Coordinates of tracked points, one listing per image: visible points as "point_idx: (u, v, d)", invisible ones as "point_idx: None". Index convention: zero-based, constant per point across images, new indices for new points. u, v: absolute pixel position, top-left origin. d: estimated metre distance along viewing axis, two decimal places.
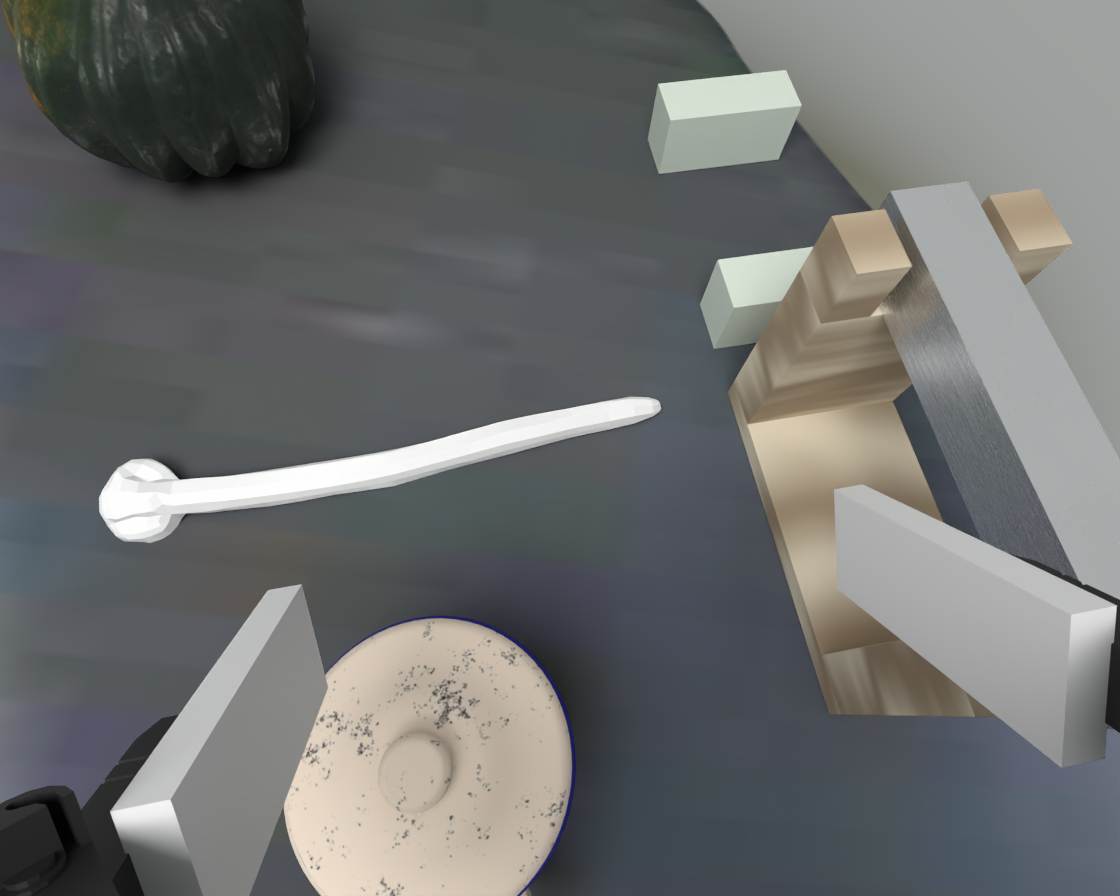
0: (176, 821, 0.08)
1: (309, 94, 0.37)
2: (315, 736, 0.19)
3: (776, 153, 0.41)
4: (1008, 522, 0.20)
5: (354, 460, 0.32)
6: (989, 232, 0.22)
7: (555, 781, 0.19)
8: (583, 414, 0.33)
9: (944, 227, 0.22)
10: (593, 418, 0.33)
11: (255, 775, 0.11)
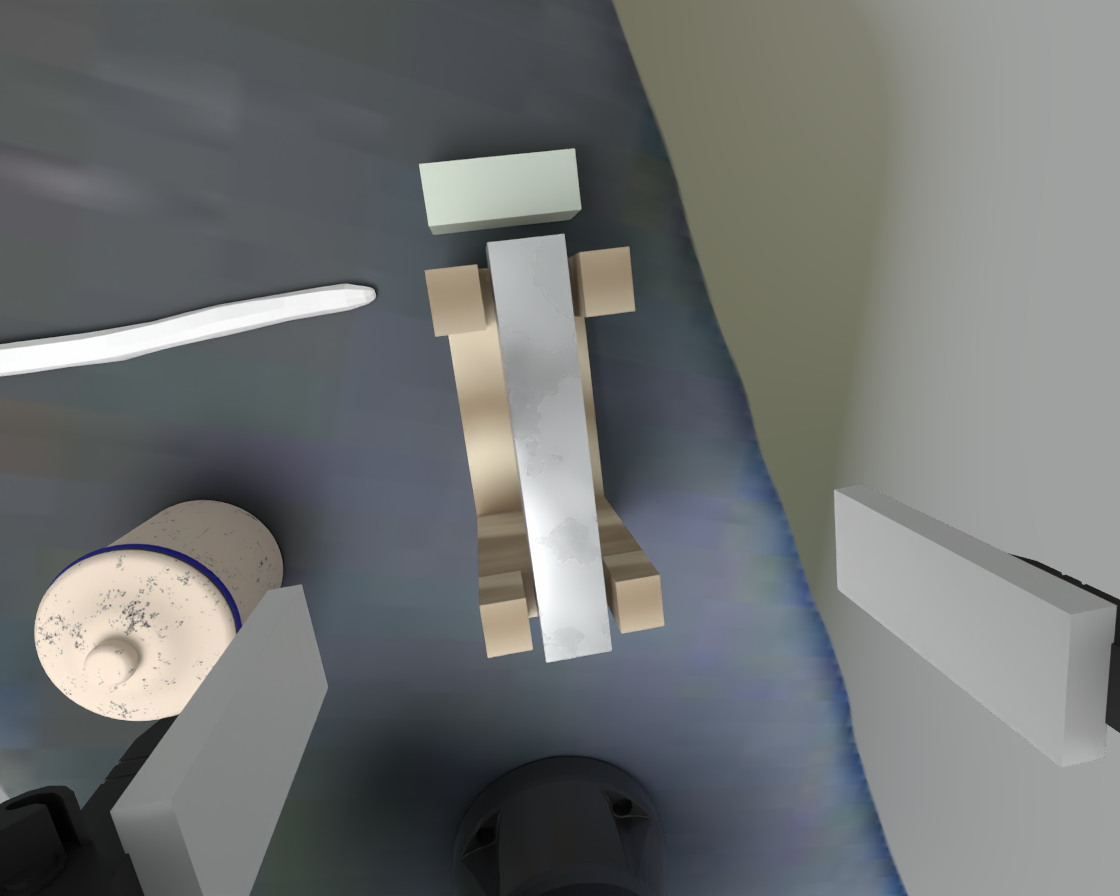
0: (176, 821, 0.08)
1: None
2: (49, 628, 0.29)
3: None
4: (525, 525, 0.29)
5: (74, 342, 0.34)
6: (566, 295, 0.25)
7: (221, 649, 0.31)
8: (296, 305, 0.36)
9: (526, 287, 0.25)
10: (306, 308, 0.36)
11: (255, 775, 0.11)
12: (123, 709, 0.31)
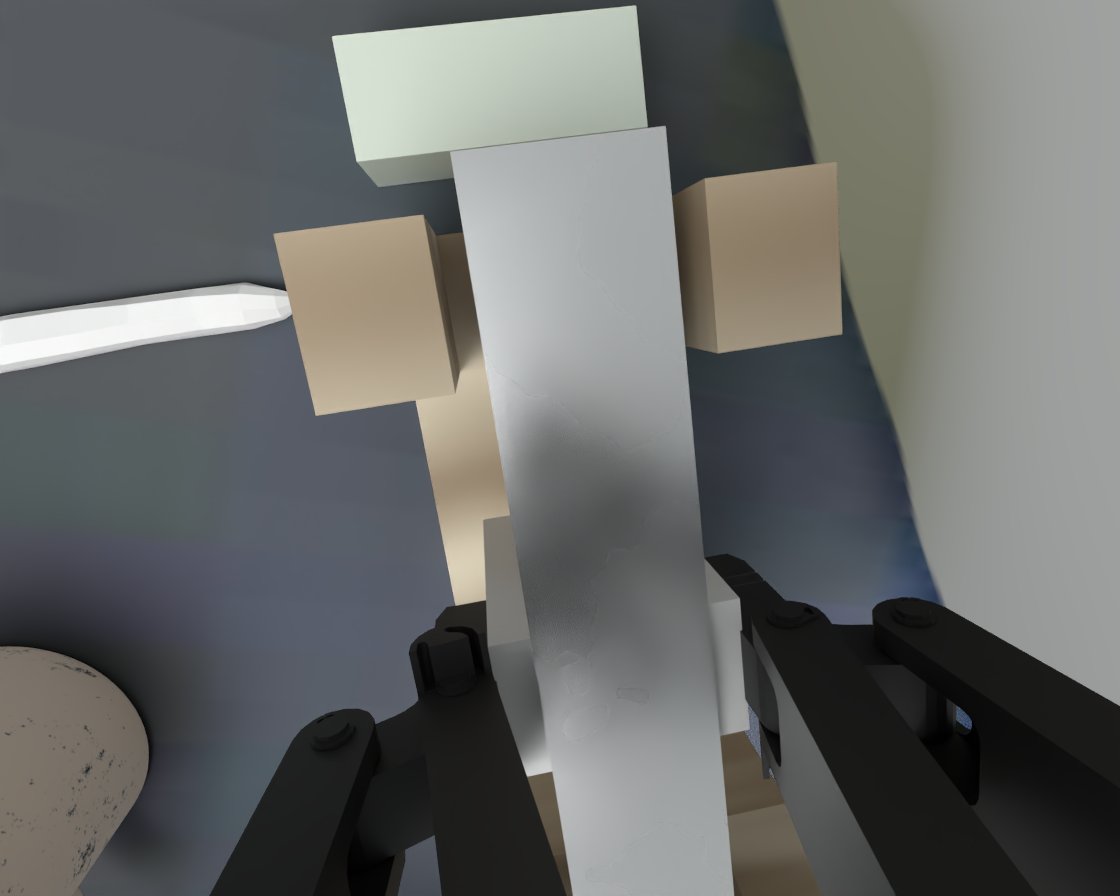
0: (531, 657, 0.11)
1: None
2: None
3: None
4: None
5: None
6: (666, 297, 0.09)
7: None
8: (150, 319, 0.20)
9: (562, 279, 0.09)
10: (170, 325, 0.20)
11: None
12: None
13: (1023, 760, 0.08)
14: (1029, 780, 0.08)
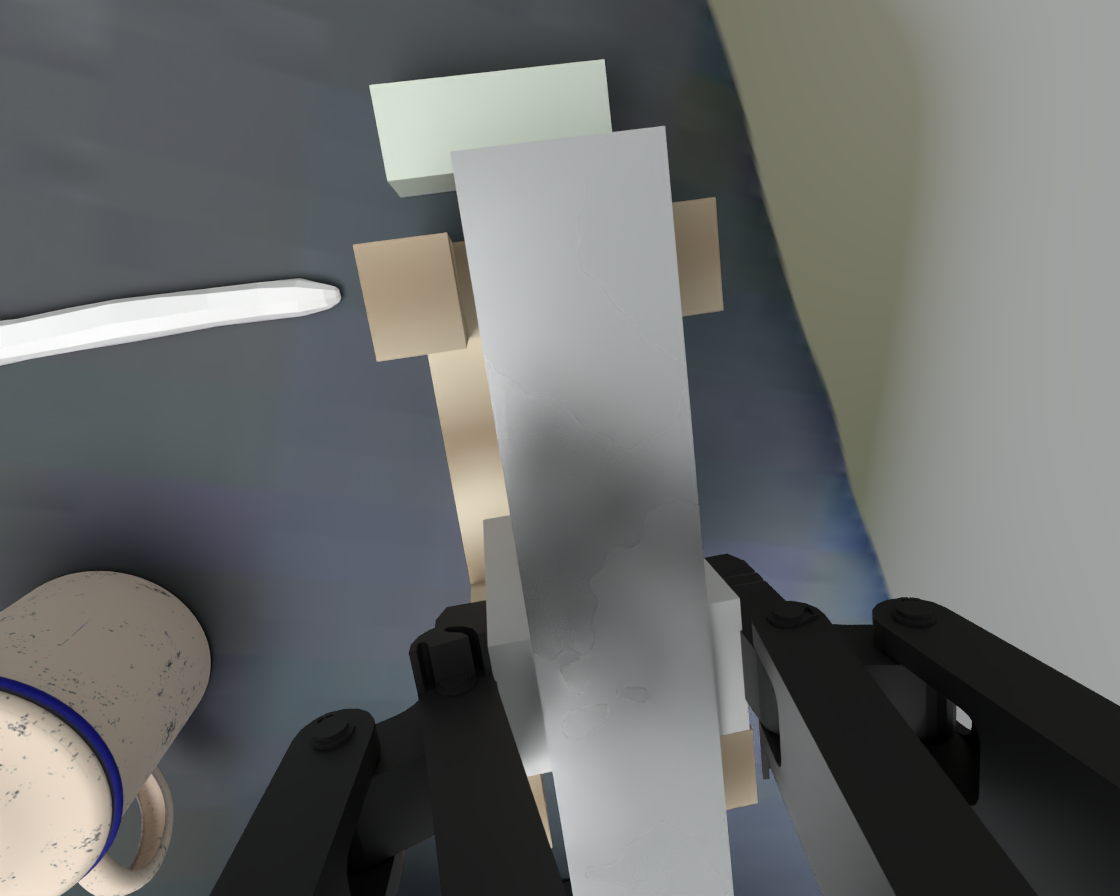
0: (531, 657, 0.11)
1: None
2: None
3: None
4: None
5: None
6: (665, 297, 0.09)
7: (86, 822, 0.21)
8: (224, 306, 0.25)
9: (562, 278, 0.09)
10: (240, 311, 0.25)
11: None
12: None
13: (1023, 760, 0.08)
14: (1029, 780, 0.08)
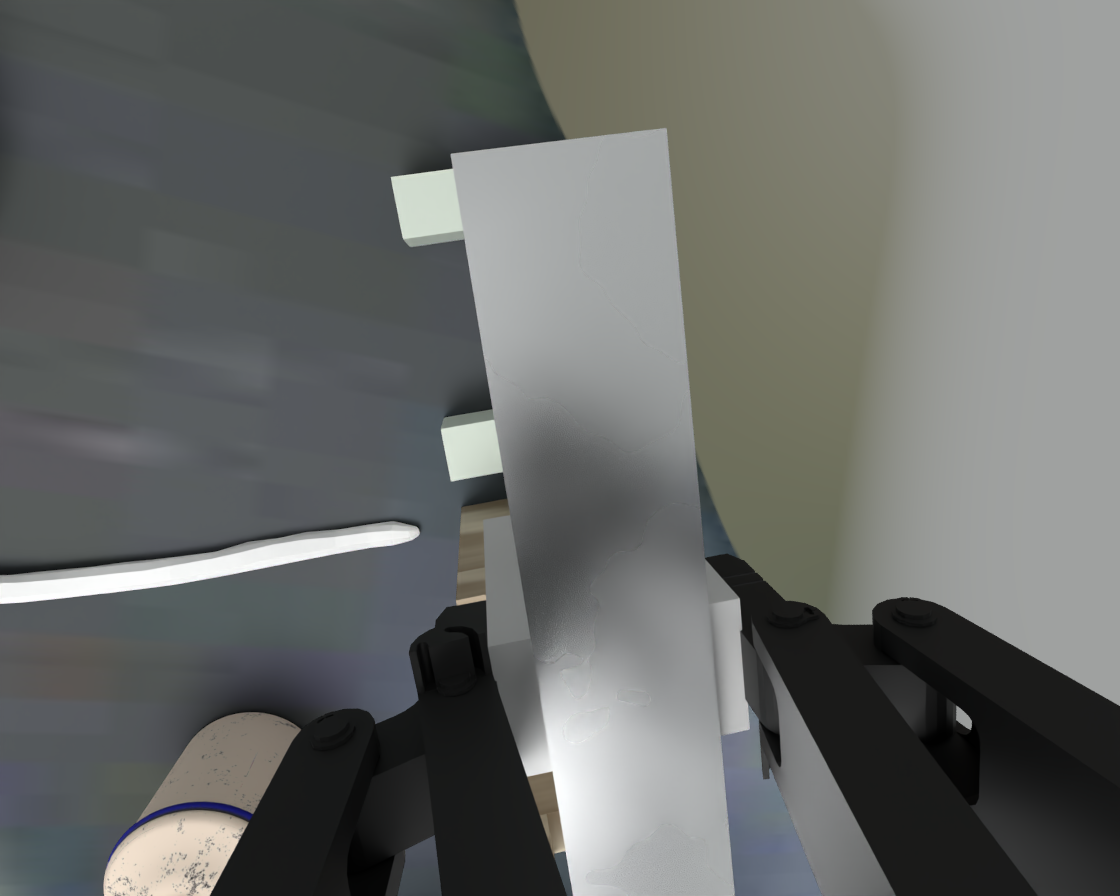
0: (531, 657, 0.11)
1: None
2: (117, 887, 0.32)
3: None
4: None
5: (139, 573, 0.37)
6: (667, 299, 0.09)
7: None
8: (346, 544, 0.39)
9: (562, 281, 0.09)
10: (355, 546, 0.39)
11: None
12: None
13: (1023, 760, 0.08)
14: (1029, 780, 0.08)
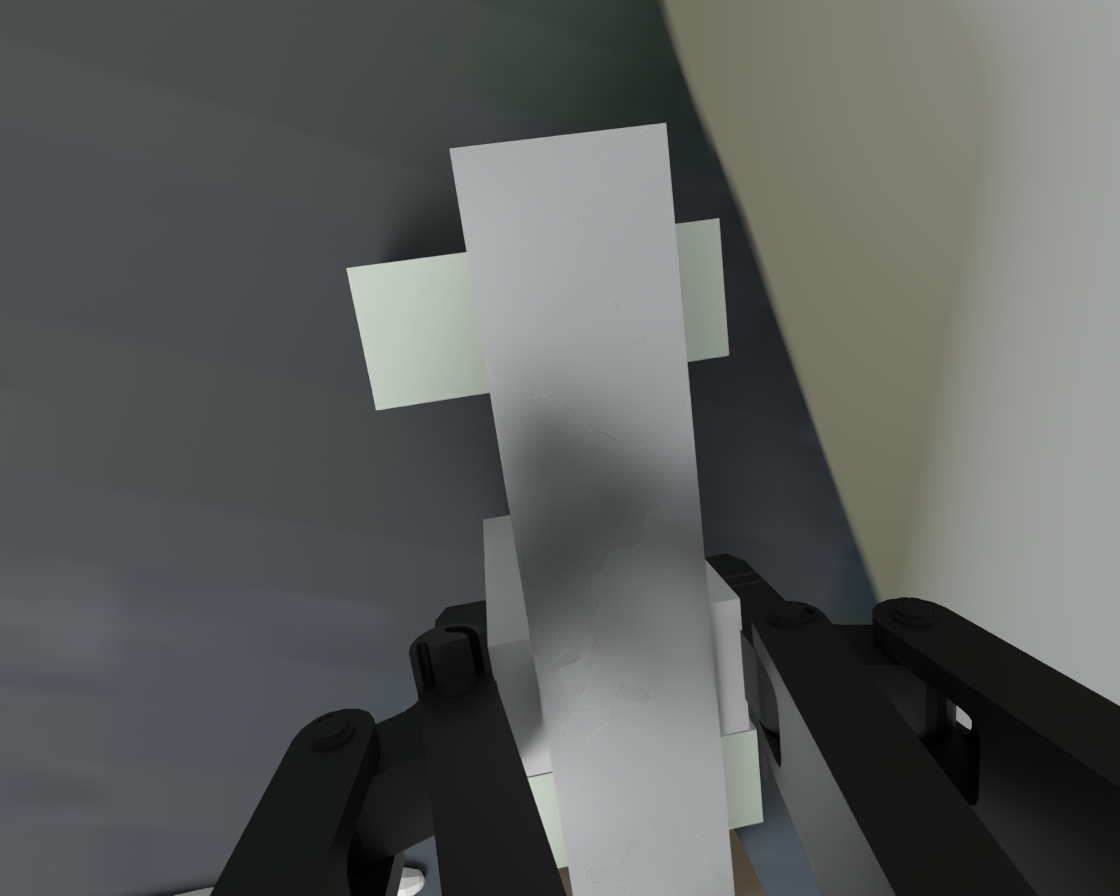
0: (531, 657, 0.11)
1: None
2: None
3: None
4: None
5: None
6: (667, 295, 0.09)
7: None
8: None
9: (562, 277, 0.09)
10: None
11: None
12: None
13: (1023, 760, 0.08)
14: (1029, 780, 0.08)
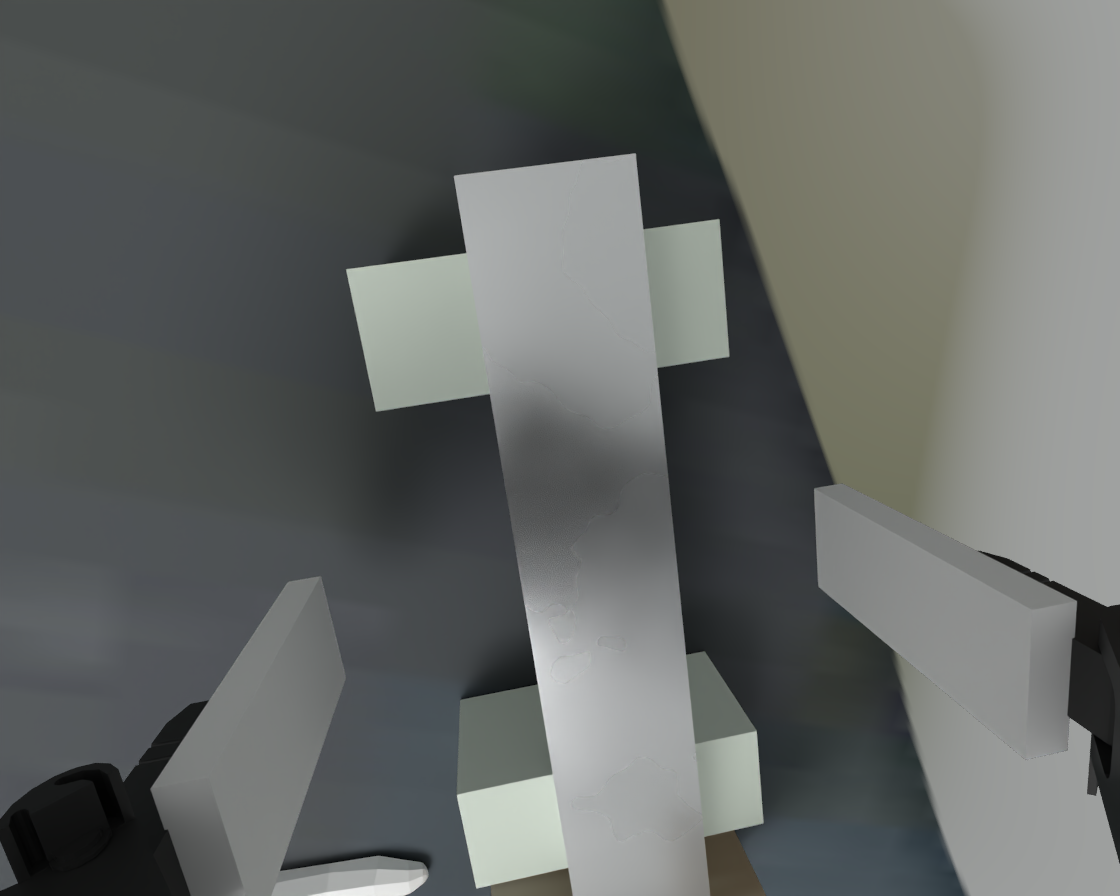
0: (213, 799, 0.09)
1: None
2: None
3: None
4: None
5: None
6: (638, 298, 0.11)
7: None
8: None
9: (548, 283, 0.11)
10: None
11: (282, 759, 0.11)
12: None
13: None
14: None
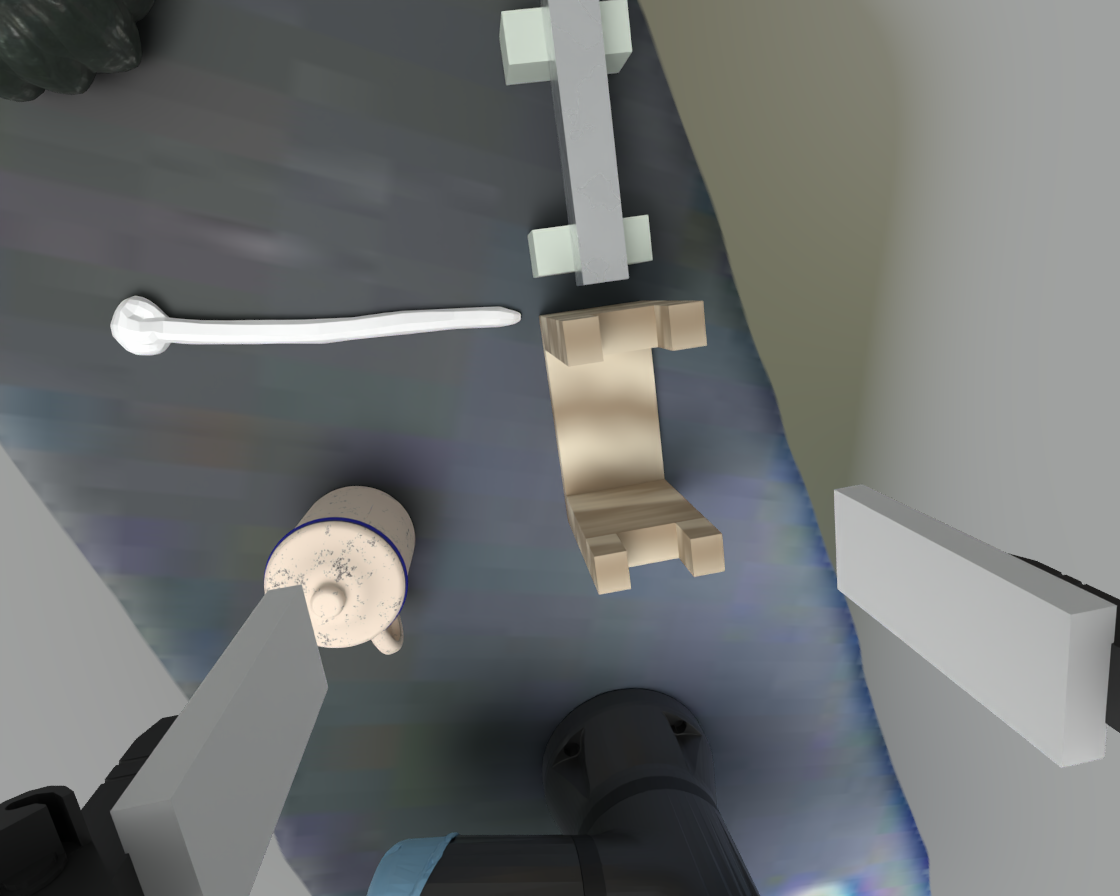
0: (176, 821, 0.08)
1: None
2: (277, 578, 0.40)
3: (616, 70, 0.45)
4: (567, 190, 0.41)
5: (294, 326, 0.45)
6: (596, 5, 0.38)
7: (396, 594, 0.42)
8: (462, 318, 0.46)
9: None
10: (469, 322, 0.47)
11: (255, 775, 0.11)
12: (326, 638, 0.42)
13: None
14: None
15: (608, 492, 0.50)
